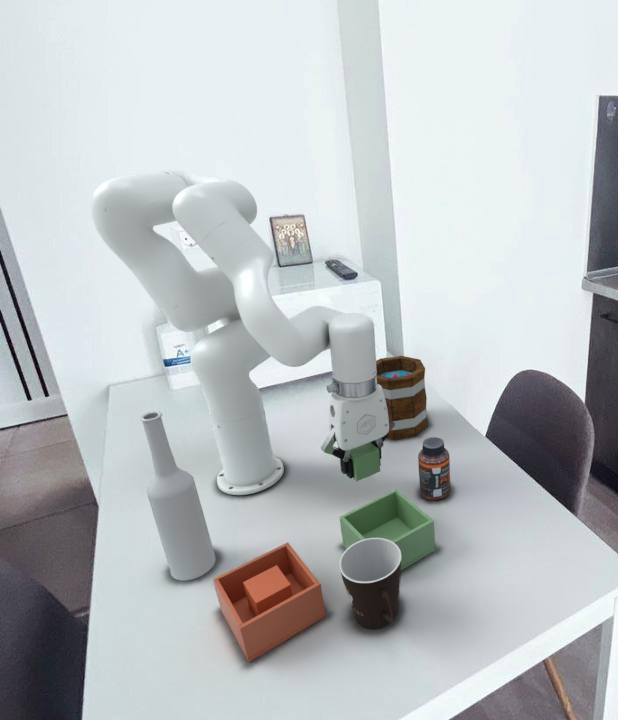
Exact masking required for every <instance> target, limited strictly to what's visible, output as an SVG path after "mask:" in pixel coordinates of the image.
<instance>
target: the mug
mask: <svg viewBox="0 0 618 720" xmlns="http://www.w3.org/2000/svg"><path fill="white" fill-rule="evenodd" d="M376 368H377V384H379V385H381V386H382V389H383V393H384V396H385V400H386V405H387V411H388V418H389V419H390V420H392V421H393V422H394V423H395V426H394V427H393V429H392V430H391V431H390V432H389V433H388V436H387V437H386V439H387V440H390V441H391V440H392V441H398V440H403V439H410V438H414V437H418V436H419V435H420V434H421V433H422V432H423V431H424V430H426V429H427V428H428V427H429V422H428V417H427V415H428V414H427V400H428V399H427V398H428V397H427V392H426V381H425V378H426V377H425V376H426V367H425V365H424V364H423V362H422V359H419V358H414V357H410V356H406V355H405V356H404V355H398V356H390V357H383V358H379V359H376Z"/></svg>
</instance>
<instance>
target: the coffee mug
mask: <svg viewBox="0 0 618 720" xmlns="http://www.w3.org/2000/svg"><path fill="white" fill-rule="evenodd" d="M338 569H339V572H340V575H341V579H342V582H343V585H344V588H345V591H346V594H347V598H348V601H349V604H350V607H351V611H352V613H353V614H352V615H353V617H354V620H355V623H356V624H357V625H358V626H359V627H361V628H363V629H366V630H371V631H372V630H374V631H375V630H380V629H383V628H385V627H387V626H389V625H391V624H392V623H393V622H394V621H395V620H396V617H397V616H398V613H399V605H400V604H399V602H400V586H401V572H402V571H401V551H400V549H399V547H398V546H397V545H396V544H395V543H394V542H392V541H390V540H388V539H384V538H368V539H364V540H360V541H358V542H356V543H354V544H352V545H351V546H349V547H348V548H347V549H346V548H345V550H344V551H343V552H342V553H341V556H340V557H339V561H338Z"/></svg>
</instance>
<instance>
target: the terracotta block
mask: <svg viewBox="0 0 618 720" xmlns="http://www.w3.org/2000/svg"><path fill="white" fill-rule="evenodd" d="M243 584H244V588H245V592H246V596H247V600H248V605H249V608H250V610H251V611H252V613H253V615H254V616H255V617H256V616H258V615H260V614H261V613H263V612H265V611H267V610H269V609H270V608H272V607H274V606H276V605H278V604H279V603H281V602H283V601H285V600H287V599H289V598H290V597H292V596H293V593H292V588H291V584H290V583H289V581H288V580H287V579H286V577H285V576H284V574H283V573H282V572H281V570H280V569H279V567H278V566H277V565H276V566H274V567H272V568H270V569H268V570H266V571H264V572H262V573H260V574H258V575H256V576H254V577H252V578H250V579H249V580H247V581H245V582H243Z"/></svg>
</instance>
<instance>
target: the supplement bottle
mask: <svg viewBox="0 0 618 720" xmlns="http://www.w3.org/2000/svg"><path fill="white" fill-rule="evenodd" d="M417 459H418V460H417V463H418V478H419V479H418V481H419V482H418V483H419V491H420V495H421V496H422V497H423V498H424V499H427V500H430V501H439V500H442V499H445V498H446V497H448V495H449V494H450V492H451V463H450V462H451V460H450V459H451V457H450V452H449V450H448V449H447V448H446V447H445V441H444V440H443V439H442V438H440V437H438V436H431V437H428V438H425V439H424V440H423V441H422V448H421V450H419V452H418V454H417Z"/></svg>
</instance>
